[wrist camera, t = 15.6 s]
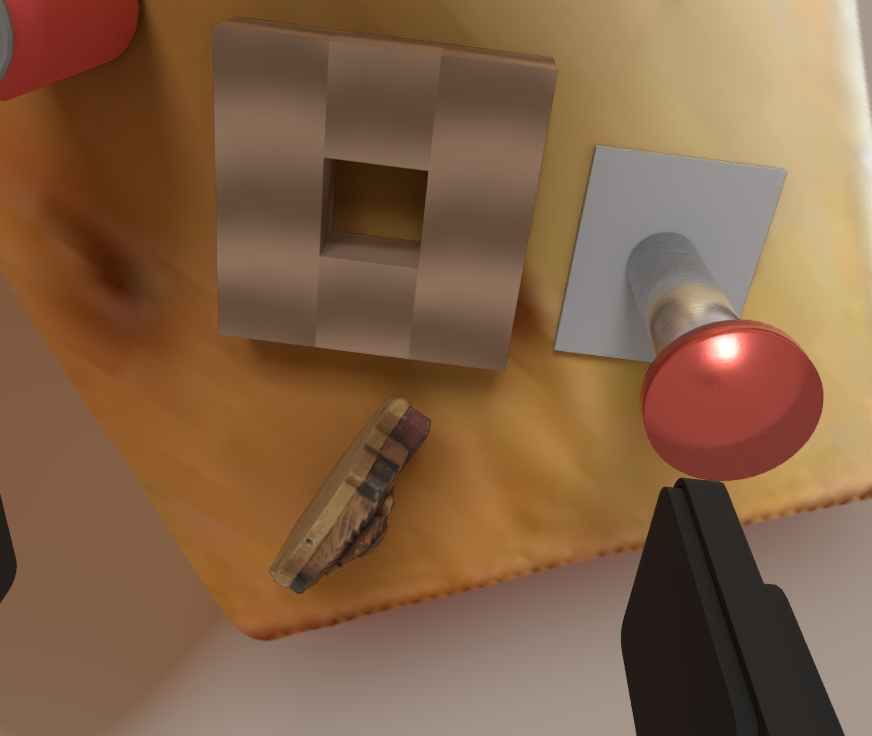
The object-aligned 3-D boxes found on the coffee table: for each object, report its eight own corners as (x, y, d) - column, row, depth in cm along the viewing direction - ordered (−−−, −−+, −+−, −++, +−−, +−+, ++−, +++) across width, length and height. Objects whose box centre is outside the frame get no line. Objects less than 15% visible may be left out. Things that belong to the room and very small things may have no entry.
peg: (615, 199, 44) (668, 322, 30) (741, 215, 44) (849, 345, 30) (589, 313, 47) (627, 469, 34) (706, 328, 47) (790, 490, 34)
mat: (595, 144, 43) (596, 147, 43) (783, 168, 43) (787, 171, 43) (553, 345, 49) (554, 350, 48) (719, 366, 49) (722, 371, 48)
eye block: (236, 16, 41) (212, 25, 38) (552, 57, 41) (557, 70, 38) (238, 304, 49) (218, 334, 45) (503, 339, 49) (504, 371, 45)
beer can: (169, -5, 41) (57, 21, 30) (98, 92, 43) (-28, 148, 33) (56, -112, 39) (-105, -123, 28) (-11, -3, 41) (-182, 24, 31)
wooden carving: (339, 553, 58) (312, 666, 49) (280, 527, 57) (241, 637, 48) (450, 378, 50) (440, 474, 42) (383, 345, 50) (360, 436, 41)
